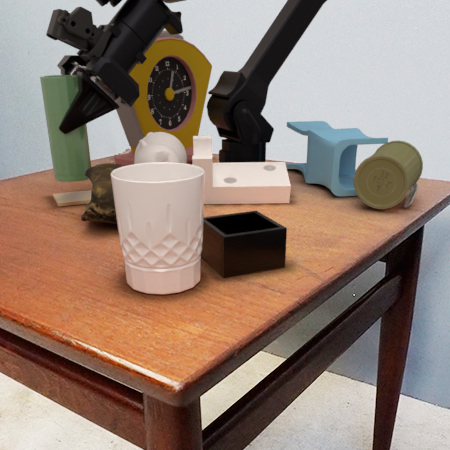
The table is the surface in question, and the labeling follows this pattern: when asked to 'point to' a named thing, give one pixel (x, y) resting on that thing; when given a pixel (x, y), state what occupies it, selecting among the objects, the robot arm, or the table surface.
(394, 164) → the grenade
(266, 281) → the table surface
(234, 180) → the bracket
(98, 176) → the seashell
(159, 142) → the cat figurine
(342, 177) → the blue step stool
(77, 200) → the coaster
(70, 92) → the green cylinder
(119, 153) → the soap
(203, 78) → the yellow mantel clock
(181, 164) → the white cup
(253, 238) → the black open box
